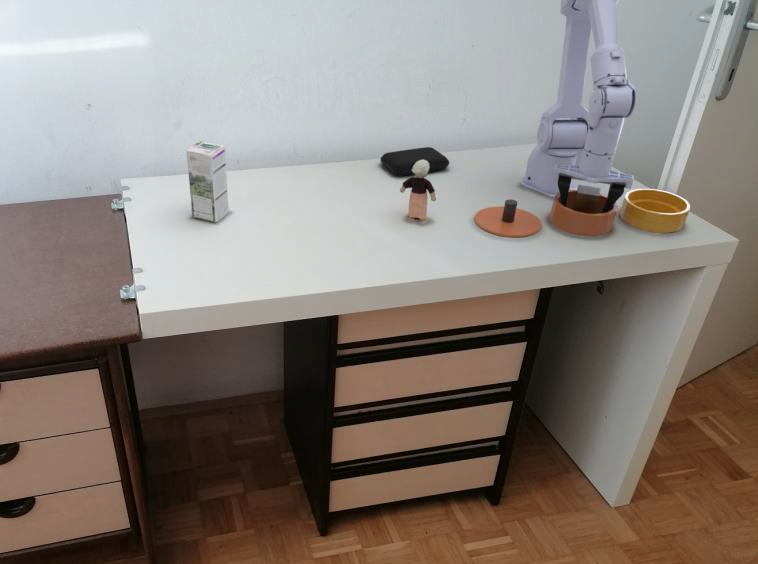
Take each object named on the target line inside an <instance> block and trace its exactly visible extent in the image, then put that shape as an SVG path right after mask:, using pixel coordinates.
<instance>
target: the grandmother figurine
mask: <svg viewBox="0 0 758 564" xmlns="http://www.w3.org/2000/svg"><path fill="white" fill-rule="evenodd" d="M429 168H430V167H429V163H428V161H426V160H419V161H418V162H416V163H415V165H414V166H413V169H412V172H413V173H415V174H414V175H415V176H411V177H409V178H407V179H406V180H404V181H403V182H402V185H401V187H400V188H399V193H405V192H406V190H407V189H411V190H410V194H409V198H408V210H407V211H408V213H407V215H408V219H409V220H414V219H416V218H417V219H418V221H419V222H426V221H429V219H430V218H429V217H428V216H427V214H428V194H429V196H430V201H432V202H436V201H437V196H436V193H435V192H436V189H435V187H434V186H433V184H432V182H431V181H430V180H429V179H427V178H426V177H427V176H428V174H429V172H428V171H429Z"/></svg>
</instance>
